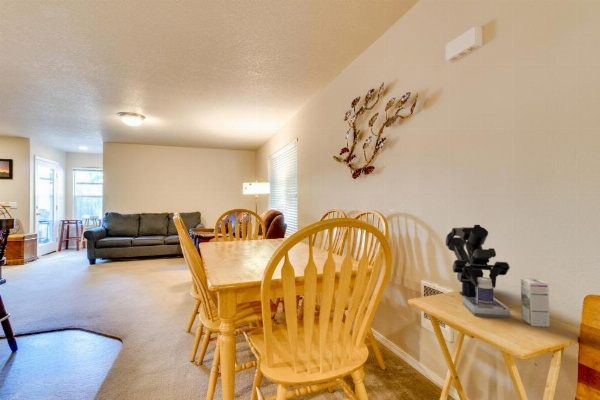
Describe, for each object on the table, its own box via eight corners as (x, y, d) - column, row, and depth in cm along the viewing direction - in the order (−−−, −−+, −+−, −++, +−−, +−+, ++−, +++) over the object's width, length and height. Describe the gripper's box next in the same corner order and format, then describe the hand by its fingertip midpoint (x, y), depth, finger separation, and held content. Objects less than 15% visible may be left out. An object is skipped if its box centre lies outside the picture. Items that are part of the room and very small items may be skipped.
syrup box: (550, 327, 94) (550, 283, 94) (530, 326, 95) (529, 282, 95) (539, 320, 99) (539, 278, 99) (520, 319, 100) (520, 278, 101)
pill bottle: (497, 306, 106) (497, 280, 106) (483, 307, 105) (483, 280, 105) (485, 301, 112) (484, 276, 112) (472, 302, 111) (471, 276, 111)
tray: (462, 304, 115) (462, 295, 115) (493, 306, 113) (493, 297, 113) (474, 315, 104) (474, 306, 104) (509, 318, 101) (509, 308, 101)
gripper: (454, 240, 115) (462, 274, 104) (507, 241, 110) (521, 277, 99) (449, 255, 122) (456, 289, 112) (499, 257, 117) (511, 292, 107)
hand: (485, 286), depth 107 cm, fingers closed on pill bottle, 5 cm apart
